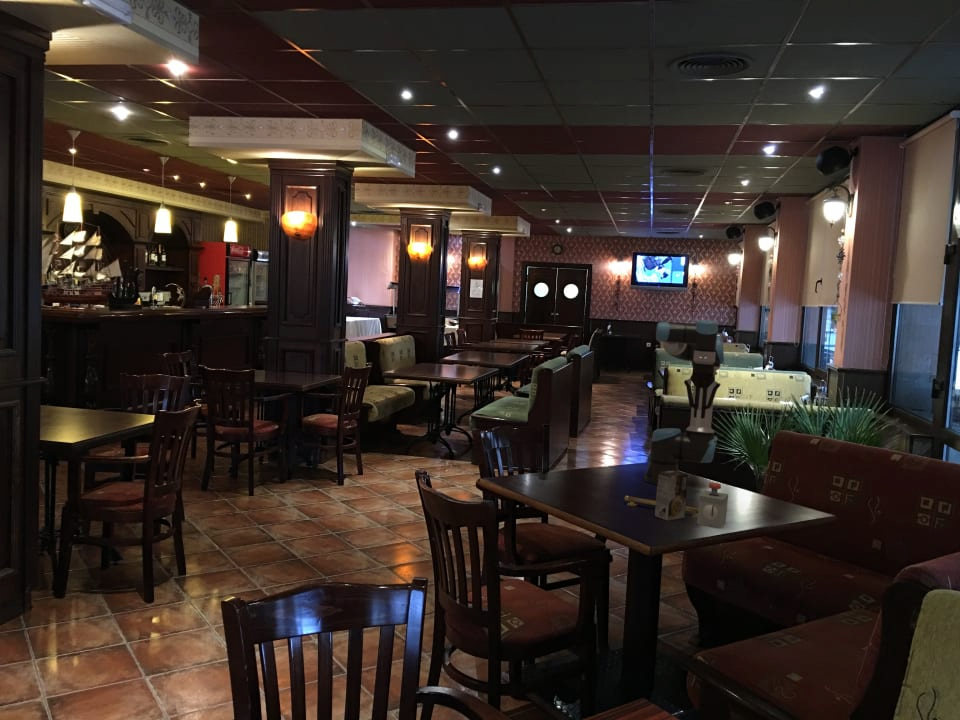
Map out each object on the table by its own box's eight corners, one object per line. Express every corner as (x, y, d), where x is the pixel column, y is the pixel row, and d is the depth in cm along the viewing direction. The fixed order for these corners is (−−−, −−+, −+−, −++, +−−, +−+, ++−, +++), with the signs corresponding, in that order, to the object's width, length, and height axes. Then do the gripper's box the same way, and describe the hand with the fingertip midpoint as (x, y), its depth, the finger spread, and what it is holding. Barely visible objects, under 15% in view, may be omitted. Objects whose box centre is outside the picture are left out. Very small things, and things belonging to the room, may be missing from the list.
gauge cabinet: (702, 517, 271) (705, 490, 270) (725, 521, 268) (728, 494, 267) (696, 524, 262) (699, 496, 261) (720, 528, 258) (723, 500, 257)
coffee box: (671, 513, 274) (675, 469, 273) (685, 518, 269) (689, 473, 268) (653, 515, 269) (657, 471, 268) (667, 520, 264) (671, 475, 263)
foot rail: (623, 504, 283) (623, 495, 283) (624, 502, 286) (625, 494, 285) (705, 518, 270) (705, 509, 270) (706, 517, 272) (707, 508, 272)
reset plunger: (708, 496, 267) (710, 482, 267) (720, 498, 265) (721, 484, 265) (706, 499, 263) (708, 484, 263) (718, 500, 262) (720, 486, 261)
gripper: (683, 361, 274) (678, 425, 277) (720, 365, 269) (715, 430, 271) (687, 360, 281) (682, 423, 283) (723, 363, 276) (718, 427, 278)
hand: (698, 426), depth 277 cm, fingers closed
